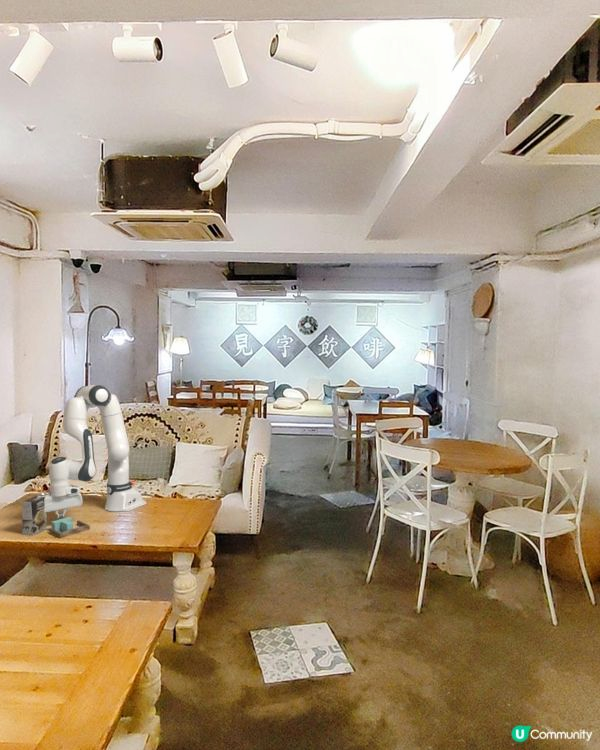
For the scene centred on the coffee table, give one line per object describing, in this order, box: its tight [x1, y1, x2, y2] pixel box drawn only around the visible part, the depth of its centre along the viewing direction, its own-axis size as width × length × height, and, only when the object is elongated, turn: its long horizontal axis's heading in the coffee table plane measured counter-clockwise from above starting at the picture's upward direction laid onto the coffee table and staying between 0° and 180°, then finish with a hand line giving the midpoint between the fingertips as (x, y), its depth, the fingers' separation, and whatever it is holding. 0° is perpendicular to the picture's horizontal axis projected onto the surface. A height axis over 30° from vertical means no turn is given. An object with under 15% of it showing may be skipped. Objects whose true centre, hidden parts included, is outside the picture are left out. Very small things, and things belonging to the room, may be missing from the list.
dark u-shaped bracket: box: [48, 520, 91, 539], centre depth 243 cm, size 15×10×2 cm, turn 143°
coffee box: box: [21, 495, 47, 536], centre depth 241 cm, size 9×6×16 cm
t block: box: [50, 516, 74, 532], centre depth 244 cm, size 9×9×4 cm
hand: (60, 517), depth 250 cm, fingers closed
